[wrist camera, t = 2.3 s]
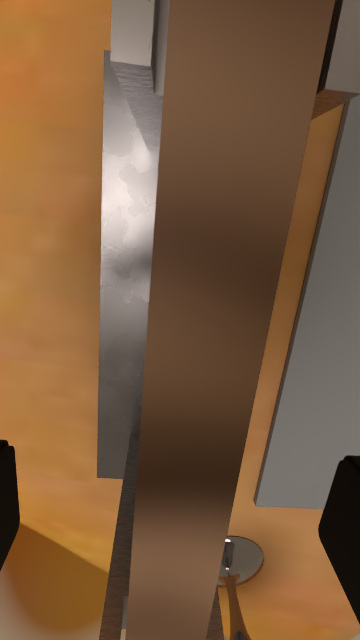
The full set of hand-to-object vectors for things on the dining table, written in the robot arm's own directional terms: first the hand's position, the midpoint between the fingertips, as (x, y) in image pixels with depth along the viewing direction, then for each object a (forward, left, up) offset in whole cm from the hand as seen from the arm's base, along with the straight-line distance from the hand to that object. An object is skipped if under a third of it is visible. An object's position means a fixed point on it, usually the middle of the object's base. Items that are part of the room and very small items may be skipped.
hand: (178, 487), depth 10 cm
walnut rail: (0, 0, -3) cm, 3 cm away
